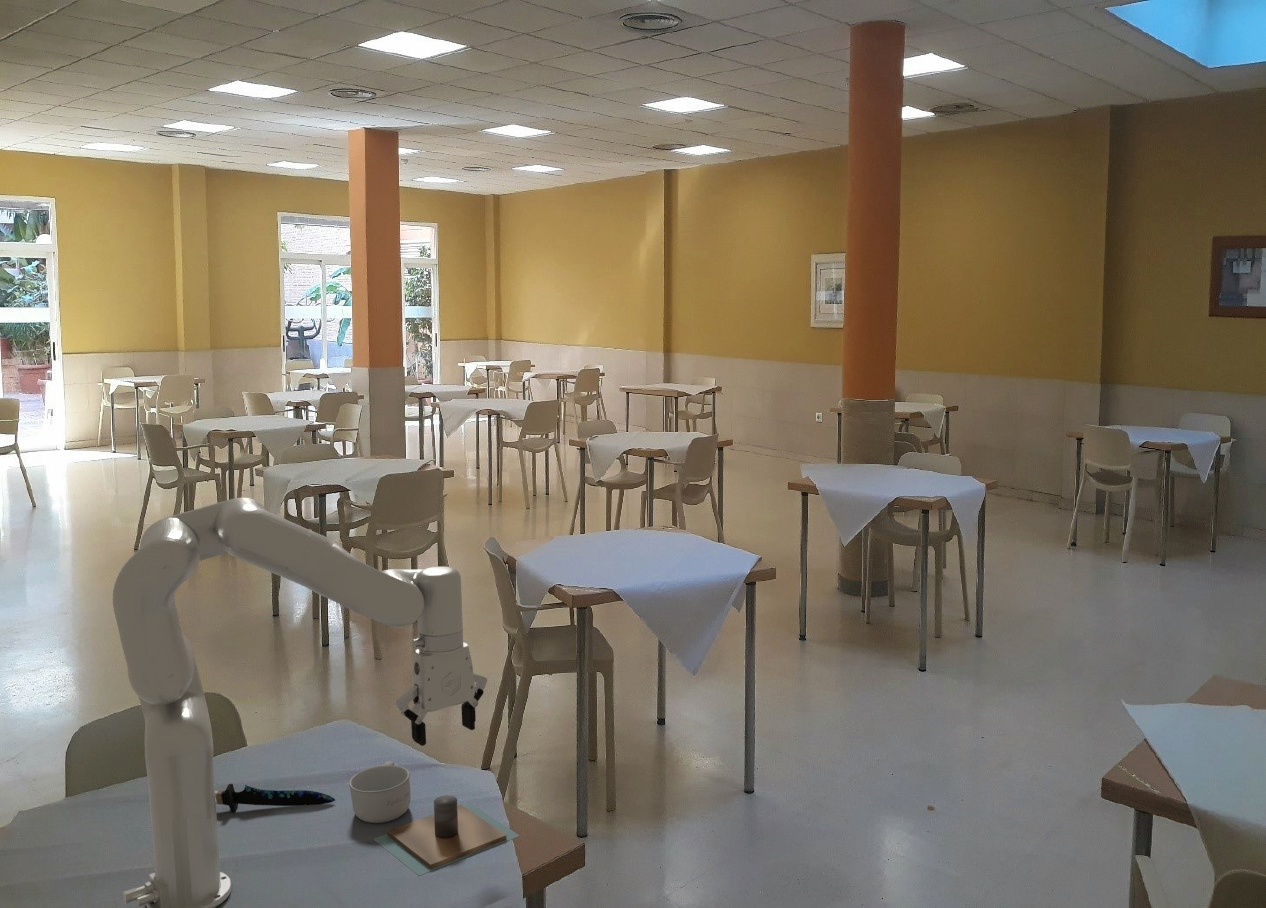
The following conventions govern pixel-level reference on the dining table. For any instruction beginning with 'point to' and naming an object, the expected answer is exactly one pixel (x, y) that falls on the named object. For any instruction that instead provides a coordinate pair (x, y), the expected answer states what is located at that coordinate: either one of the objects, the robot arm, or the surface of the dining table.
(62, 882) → the dining table surface
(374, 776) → the teacup
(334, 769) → the dining table surface
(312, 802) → the knife
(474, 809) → the mat
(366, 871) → the dining table surface
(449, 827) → the lid
